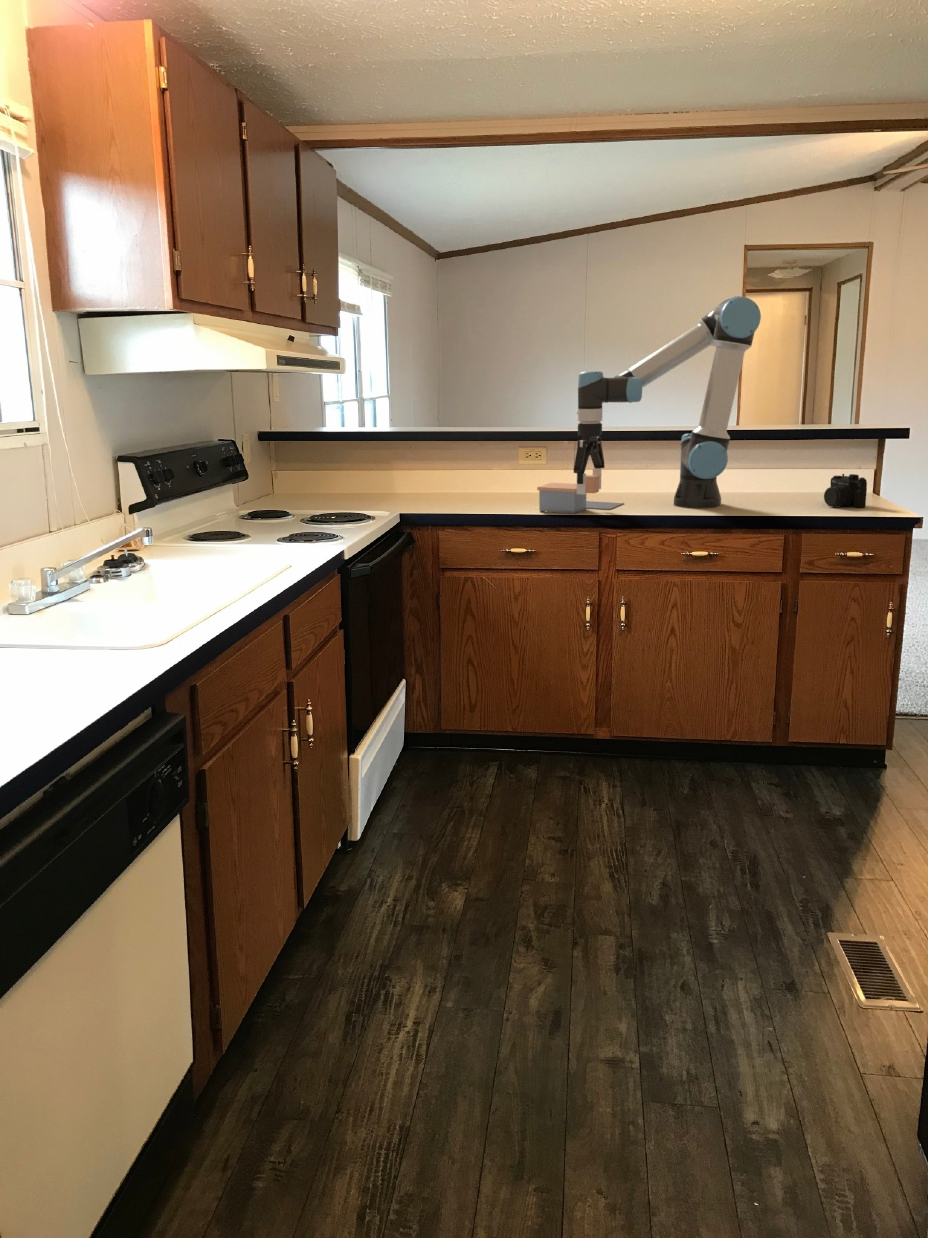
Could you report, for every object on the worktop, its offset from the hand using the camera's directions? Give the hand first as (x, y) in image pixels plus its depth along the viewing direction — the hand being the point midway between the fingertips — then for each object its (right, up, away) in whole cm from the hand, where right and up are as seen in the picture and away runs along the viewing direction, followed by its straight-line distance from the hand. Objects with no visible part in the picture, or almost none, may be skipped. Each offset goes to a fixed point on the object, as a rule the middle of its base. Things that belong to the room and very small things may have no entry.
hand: (589, 491), depth 313 cm
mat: (+3, -3, +15) cm, 15 cm away
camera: (+80, -4, +3) cm, 81 cm away
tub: (-8, -5, +6) cm, 11 cm away
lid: (-6, +1, +3) cm, 7 cm away
